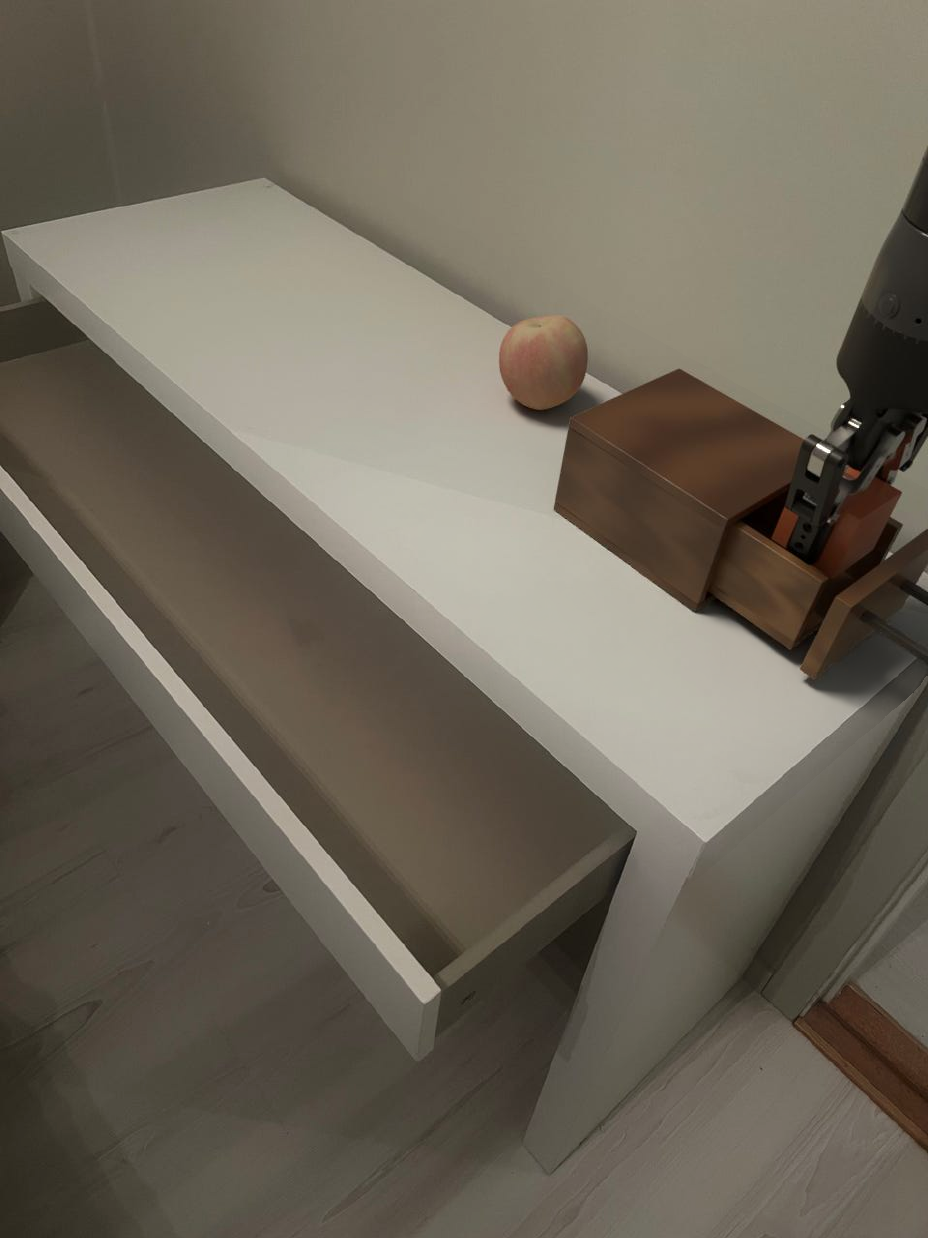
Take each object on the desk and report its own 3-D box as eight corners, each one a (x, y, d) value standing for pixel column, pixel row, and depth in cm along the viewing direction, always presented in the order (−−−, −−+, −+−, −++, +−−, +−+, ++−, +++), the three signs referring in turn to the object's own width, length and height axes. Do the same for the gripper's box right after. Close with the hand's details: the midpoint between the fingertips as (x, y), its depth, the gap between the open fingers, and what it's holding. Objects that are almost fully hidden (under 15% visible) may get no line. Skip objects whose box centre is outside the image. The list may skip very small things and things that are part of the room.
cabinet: (795, 545, 73) (834, 455, 67) (694, 613, 67) (727, 520, 61) (655, 456, 81) (679, 367, 75) (552, 509, 74) (569, 416, 68)
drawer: (988, 663, 64) (1038, 592, 60) (903, 744, 59) (951, 672, 54) (752, 513, 74) (779, 442, 70) (660, 569, 69) (682, 496, 64)
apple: (559, 375, 89) (572, 295, 83) (594, 418, 84) (611, 337, 78) (482, 385, 87) (490, 304, 81) (514, 430, 82) (525, 347, 76)
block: (873, 550, 64) (903, 491, 60) (832, 579, 61) (861, 520, 58) (811, 512, 66) (837, 454, 63) (770, 539, 64) (794, 480, 60)
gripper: (928, 374, 46) (811, 617, 58) (1054, 301, 53) (926, 530, 65) (802, 312, 50) (716, 552, 62) (935, 252, 57) (835, 477, 69)
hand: (824, 540), depth 63 cm, fingers closed on block, 5 cm apart
